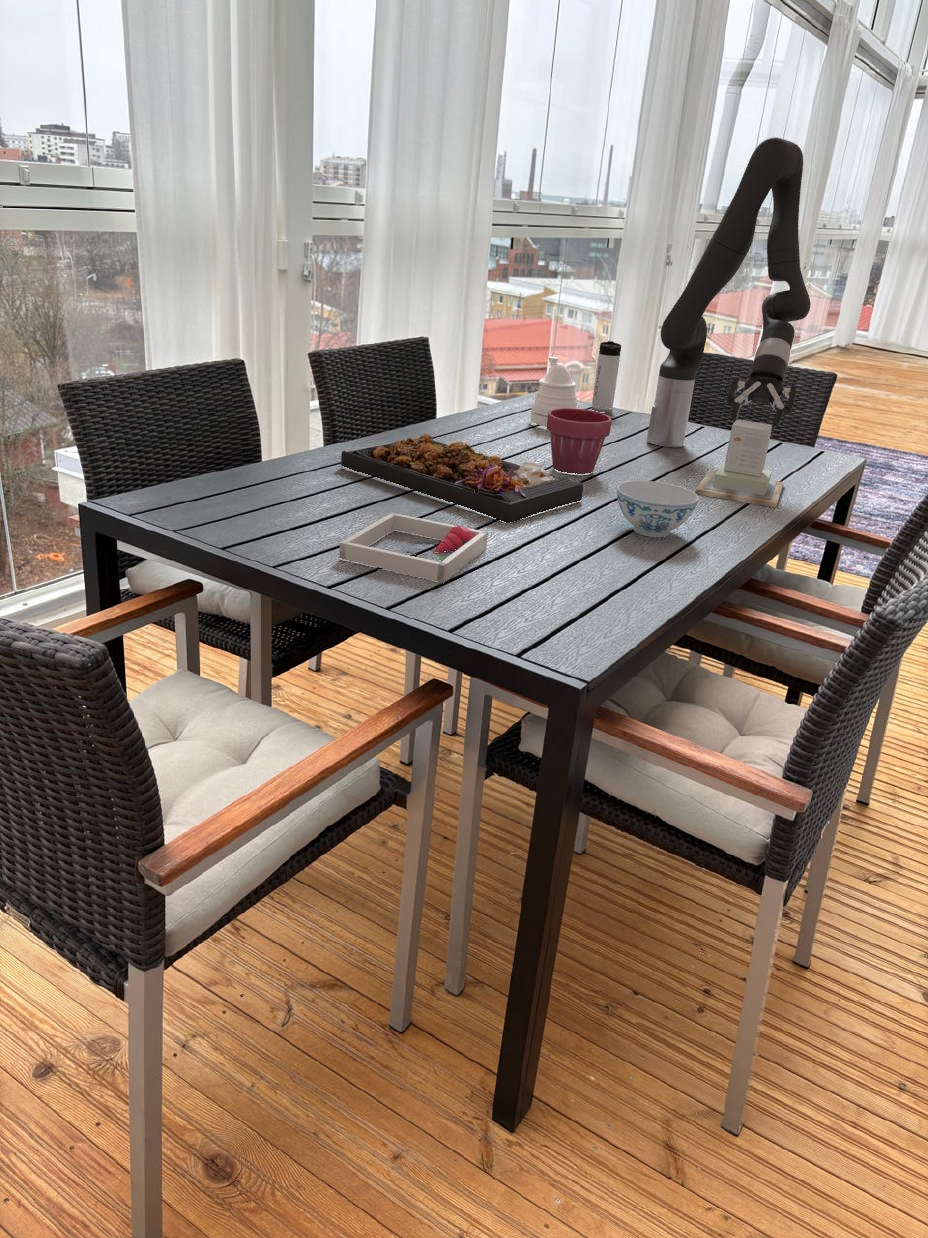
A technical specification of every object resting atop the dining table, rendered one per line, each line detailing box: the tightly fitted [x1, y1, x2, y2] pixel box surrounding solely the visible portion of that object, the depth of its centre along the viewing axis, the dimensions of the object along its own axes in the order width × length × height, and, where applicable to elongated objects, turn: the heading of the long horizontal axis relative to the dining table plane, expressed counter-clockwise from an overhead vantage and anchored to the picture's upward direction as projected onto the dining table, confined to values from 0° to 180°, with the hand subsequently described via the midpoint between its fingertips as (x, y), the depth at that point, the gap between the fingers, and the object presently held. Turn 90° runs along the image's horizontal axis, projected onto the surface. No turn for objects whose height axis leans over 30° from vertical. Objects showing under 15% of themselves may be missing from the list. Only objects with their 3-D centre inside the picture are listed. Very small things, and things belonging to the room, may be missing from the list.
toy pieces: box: [413, 525, 474, 561], centre depth 158 cm, size 12×11×4 cm
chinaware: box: [616, 480, 700, 538], centre depth 177 cm, size 15×15×8 cm
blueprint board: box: [694, 469, 785, 509], centre depth 212 cm, size 17×20×1 cm
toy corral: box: [338, 512, 489, 584], centre depth 156 cm, size 18×19×3 cm
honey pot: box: [529, 356, 580, 427], centre depth 256 cm, size 13×13×18 cm
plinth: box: [713, 462, 773, 495], centre depth 211 cm, size 11×12×3 cm
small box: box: [724, 418, 773, 477], centre depth 209 cm, size 8×6×10 cm
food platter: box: [340, 433, 584, 524], centre depth 196 cm, size 45×25×10 cm, turn 50°
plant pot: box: [547, 408, 613, 474], centre depth 213 cm, size 14×14×13 cm
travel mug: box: [590, 340, 622, 414], centre depth 279 cm, size 6×7×20 cm
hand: (754, 423), depth 209 cm, fingers open, 8 cm apart
